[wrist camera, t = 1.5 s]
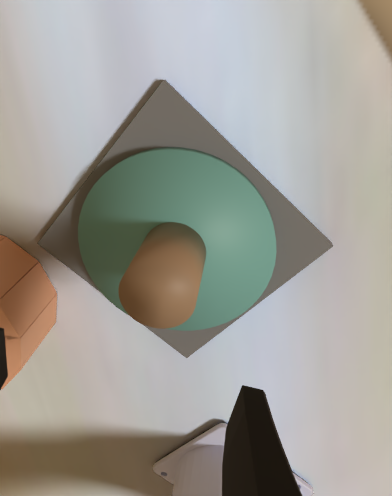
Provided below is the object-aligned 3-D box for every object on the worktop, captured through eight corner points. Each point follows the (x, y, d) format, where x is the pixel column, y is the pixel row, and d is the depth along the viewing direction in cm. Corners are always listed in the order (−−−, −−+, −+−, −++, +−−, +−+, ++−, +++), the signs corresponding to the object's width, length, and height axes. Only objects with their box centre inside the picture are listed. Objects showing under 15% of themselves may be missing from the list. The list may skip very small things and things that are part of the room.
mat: (331, 242, 18) (333, 246, 18) (187, 353, 23) (186, 358, 22) (165, 80, 16) (163, 80, 15) (41, 240, 20) (37, 243, 20)
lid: (318, 245, 18) (339, 302, 14) (185, 349, 22) (171, 417, 18) (165, 98, 16) (134, 111, 12) (49, 243, 20) (-4, 292, 16)
